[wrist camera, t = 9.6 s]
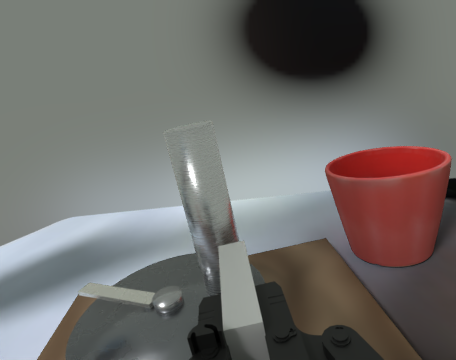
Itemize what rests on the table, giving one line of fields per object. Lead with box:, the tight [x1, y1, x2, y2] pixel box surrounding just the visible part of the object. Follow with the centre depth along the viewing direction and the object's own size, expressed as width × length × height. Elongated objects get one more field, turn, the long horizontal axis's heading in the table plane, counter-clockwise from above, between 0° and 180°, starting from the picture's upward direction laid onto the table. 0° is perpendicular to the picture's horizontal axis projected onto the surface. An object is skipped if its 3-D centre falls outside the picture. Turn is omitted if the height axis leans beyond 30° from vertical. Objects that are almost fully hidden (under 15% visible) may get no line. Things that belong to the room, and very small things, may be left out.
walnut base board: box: [37, 238, 422, 360], centre depth 27 cm, size 28×18×2 cm, turn 94°
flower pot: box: [325, 146, 452, 267], centre depth 32 cm, size 11×11×10 cm
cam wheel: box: [65, 121, 265, 360], centre depth 25 cm, size 18×16×16 cm
